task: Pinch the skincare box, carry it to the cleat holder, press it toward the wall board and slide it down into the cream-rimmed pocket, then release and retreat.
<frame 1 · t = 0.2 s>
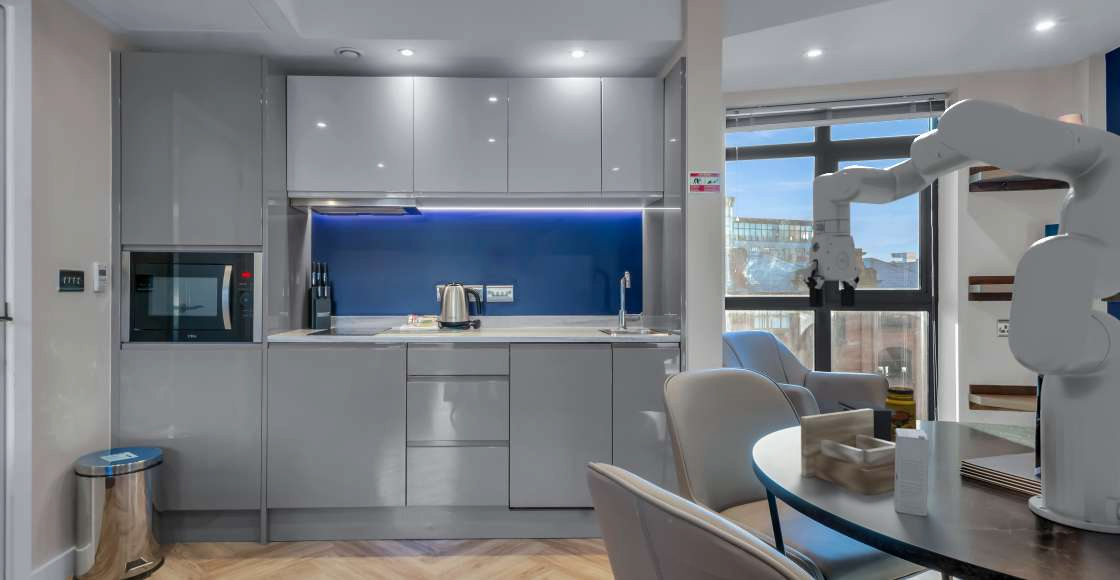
hand: (832, 306, 127), 31 cm above the table, fingers open, 9 cm apart
small box: (864, 455, 120), on the table
condiment: (899, 440, 131), on the table
cleat holder: (859, 477, 105), on the table
skincare box: (911, 510, 90), on the table
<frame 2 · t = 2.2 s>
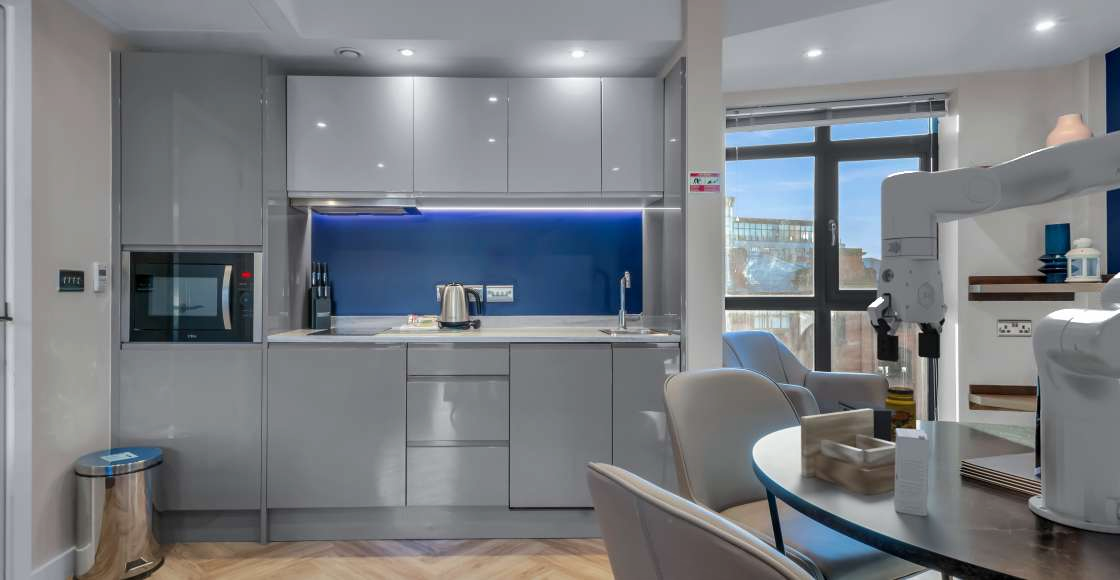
hand: (908, 359, 90), 24 cm above the table, fingers open, 9 cm apart
nothing on the table moved.
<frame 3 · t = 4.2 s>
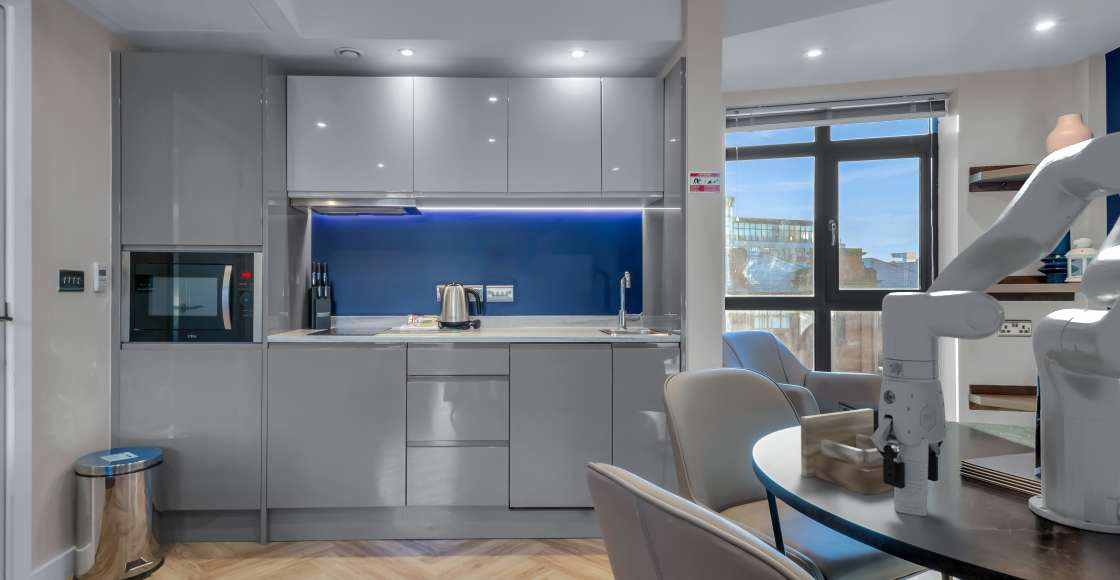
hand: (910, 481, 90), 4 cm above the table, fingers closed on skincare box, 7 cm apart
skincare box: (911, 510, 90), on the table, touching gripper
everything else where it was.
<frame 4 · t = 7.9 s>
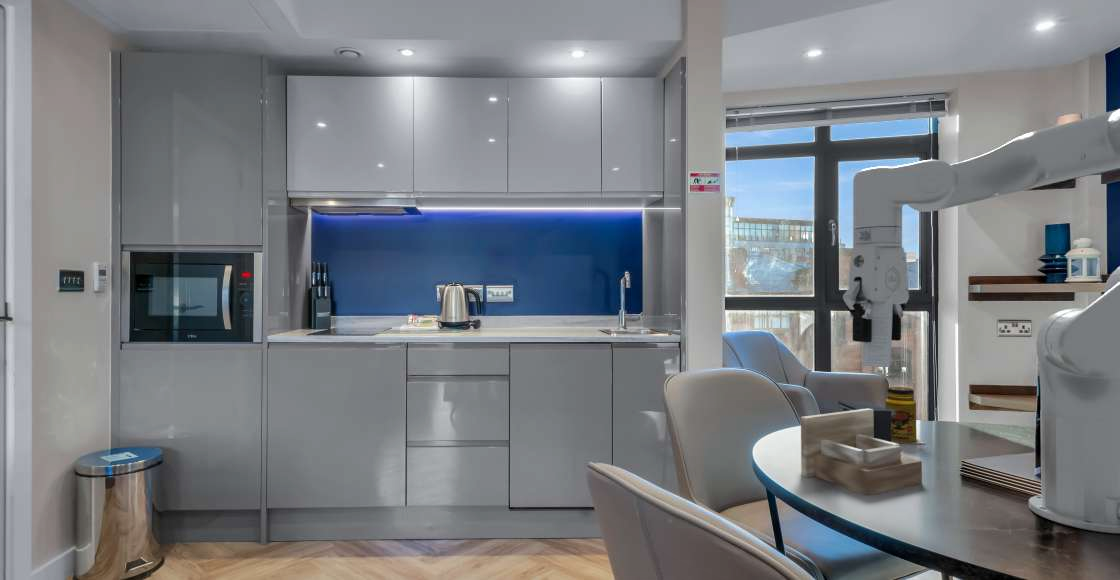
hand: (876, 340, 99), 26 cm above the table, fingers closed on skincare box, 7 cm apart
skincare box: (876, 366, 99), point 21 cm above the table, touching gripper
everything else where it was.
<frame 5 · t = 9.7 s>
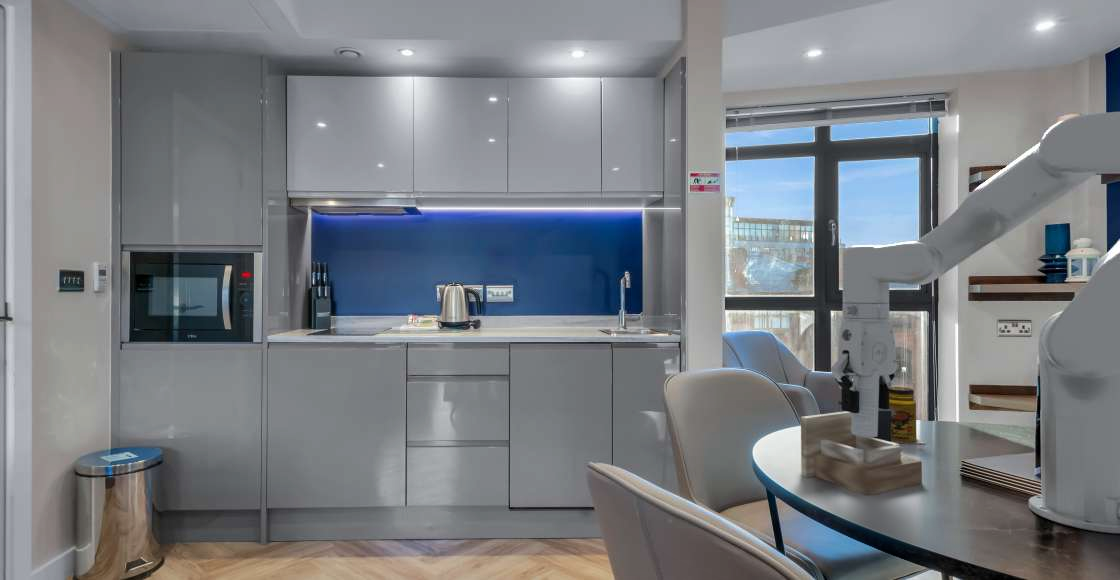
hand: (865, 409, 104), 13 cm above the table, fingers closed on skincare box, 7 cm apart
skincare box: (865, 433, 104), point 8 cm above the table, touching gripper
everything else where it was.
when the fingers open (9 cm above the table, at t = 11.5 s): skincare box stays where it is, resting on cleat holder.
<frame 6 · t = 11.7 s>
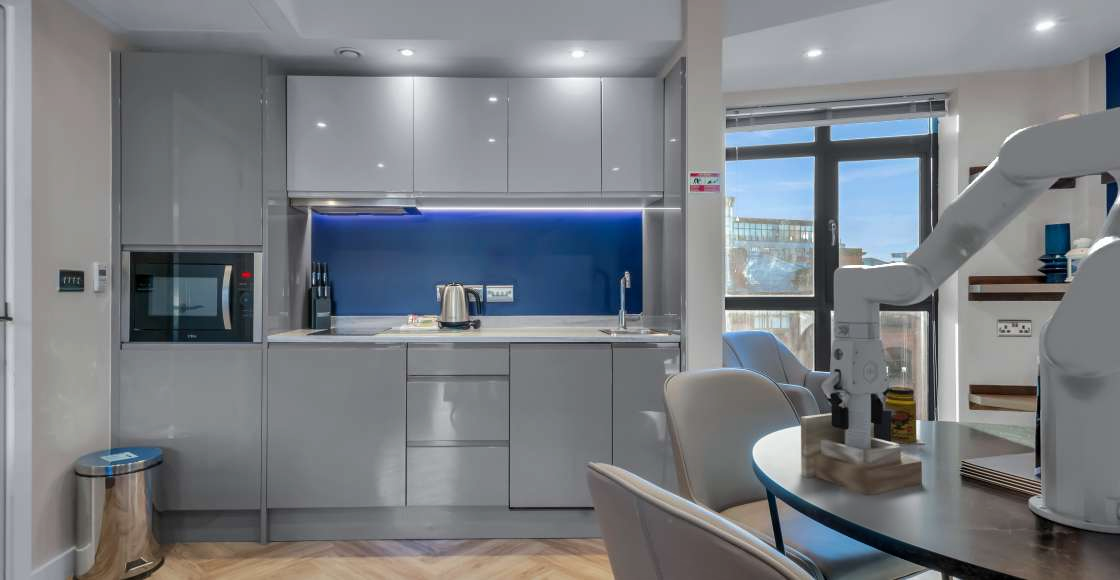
hand: (857, 425, 105), 10 cm above the table, fingers open, 8 cm apart
skincare box: (858, 456, 105), point 4 cm above the table, touching cleat holder
everything else where it was.
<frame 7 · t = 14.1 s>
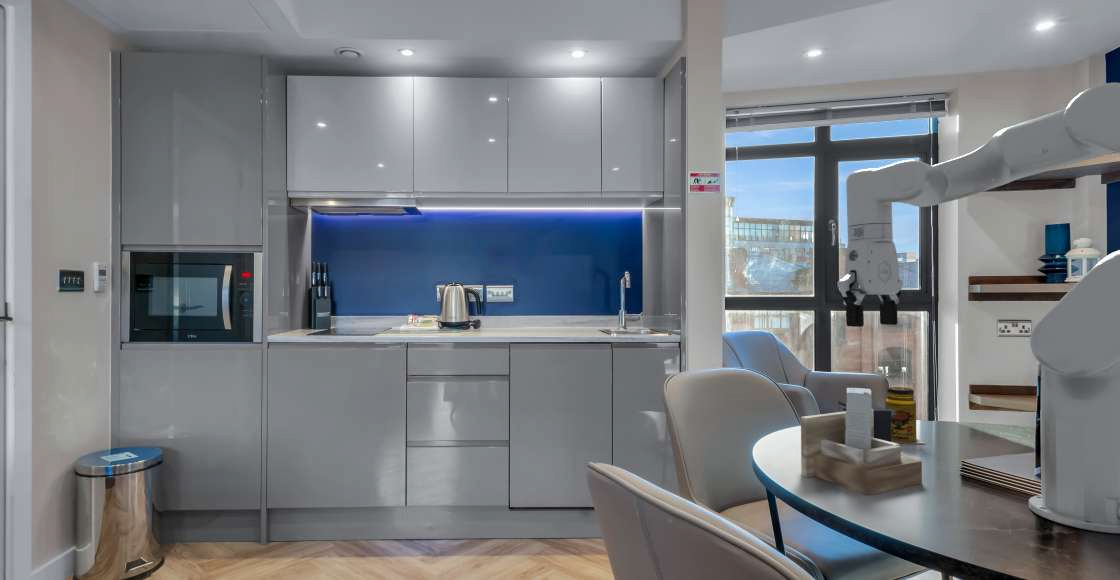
hand: (872, 325, 108), 28 cm above the table, fingers open, 9 cm apart
nothing on the table moved.
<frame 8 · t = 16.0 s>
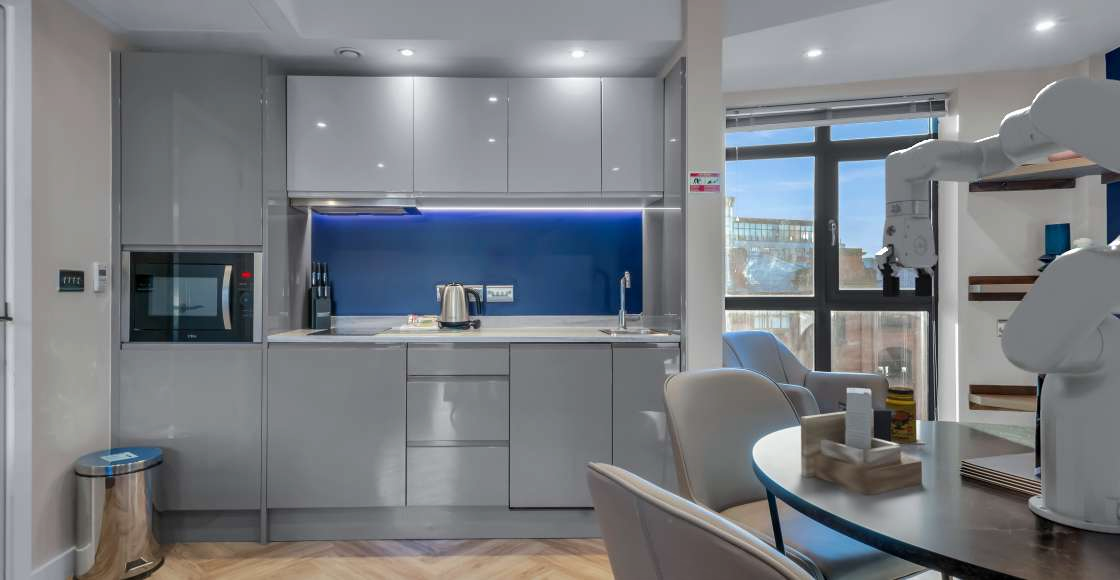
hand: (907, 296, 115), 33 cm above the table, fingers open, 9 cm apart
nothing on the table moved.
at the end: skincare box 0.0 cm off-centre on the cleat holder, point 3.8 cm above the cleat holder's base; skincare box tilted 0°; the gripper is holding nothing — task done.
